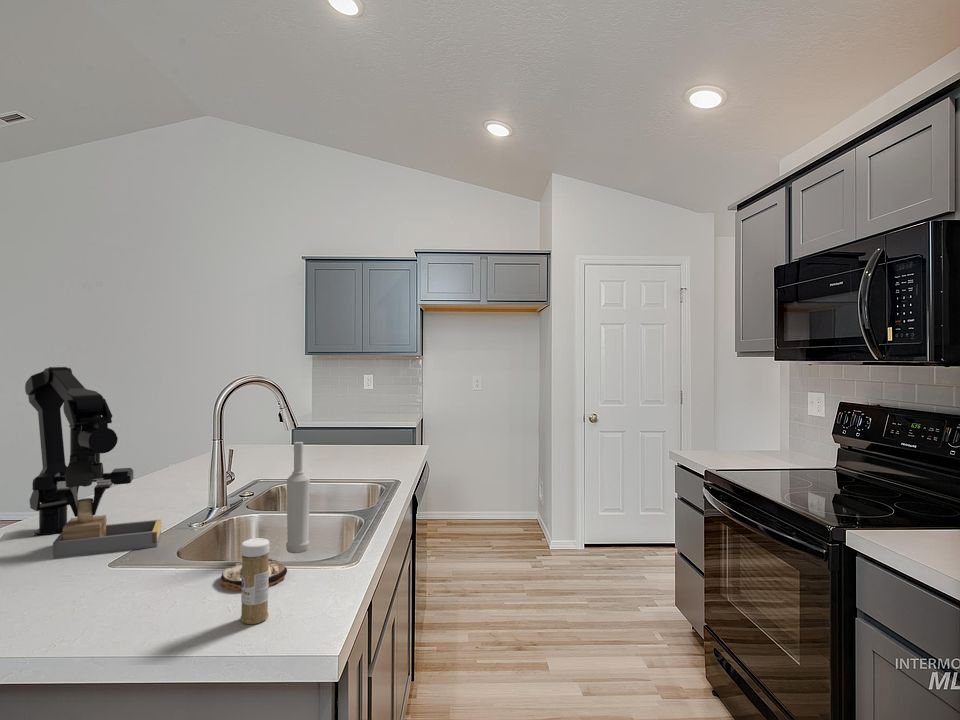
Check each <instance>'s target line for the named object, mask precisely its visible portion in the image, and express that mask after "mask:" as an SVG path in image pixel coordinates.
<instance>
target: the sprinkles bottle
mask: <svg viewBox="0 0 960 720" xmlns="http://www.w3.org/2000/svg"><path fill="white" fill-rule="evenodd" d="M269 553H270V540H269V539H266V538H263V537H257V538H250V539H246V540H244V541H243V542H242V543H241V545H240V554H241V559H242V561H241V562H242V563H241V564H242V590H241V597H240V598H241V601H240V602H241V615H240V622H241V623H243V624H245V625H256V624H258V623H262V622H264V621H266V620H267V619H268V617H269V612H268V608H269V587H268V582H269V569H268V559H269Z"/></svg>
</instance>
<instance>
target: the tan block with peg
mask: <svg viewBox="0 0 960 720" xmlns="http://www.w3.org/2000/svg"><path fill="white" fill-rule="evenodd" d="M93 500H94V497H93V498H91V497H90V498H89V497H87V498H81V499H78V501H77V517H72V518H70V519H69V520H67V524H66V525H65V526H64V527H63V532H61V533H62V535H63V540H72V539H82V538H92V537H101V536H106V525H107V515H106V514H104V515H93V514H92V508H93Z"/></svg>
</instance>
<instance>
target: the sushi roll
mask: <svg viewBox="0 0 960 720" xmlns="http://www.w3.org/2000/svg"><path fill="white" fill-rule="evenodd" d="M268 569H269V582H268V588H270V587H274V586H277V585H278V584H280V583H281V582H283V581H285V577H286V575H287V573H288V568H287V567H286V566H285V564H283V563H282V562H280V561H278V560H276V559H272V558H268ZM220 580H221V584H220V585H221V587H222V588H226V589H230V590H233V591H242V561H239V562H236V563H234V565H232V566H229V567H228V566H227V567H224V570H223V571H222V572H221V576H220Z"/></svg>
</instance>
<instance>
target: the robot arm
mask: <svg viewBox="0 0 960 720" xmlns="http://www.w3.org/2000/svg"><path fill="white" fill-rule="evenodd" d="M24 389H25V391H24V392H25V395H27V396H28V397H27V398H28V403H29V404H30V405H31V406H32V407H33V408H34V410H36V411H37V416H38V417H37V418H38V426H39V428H38V429H39V439H40V450H41V453H40V454H41V463H42V465H41V466H42V469H41V471H40V472H39V474H38V475H37V476H35V477H34V478H33V479H32V493H31V496H30V498H29V506H30V507H29V508H30V509H32V510H34V511H35V512H38V521H39V522H38V529H36V531H34V536H40V535H49V534H61V533H62V532H63V527H64V526H65V525H66V524H67V523H68V506H70V508H71V512H72V513H73V515H74V518H77V501H78V500H79V498H78V497H79V496H78V494H79V488H80V487H89V486H92V484H93V483H96V485H95V486H94V488H93V491H94V494H93V508H92V514H93V516H96V513H97V511H98V508H99V505H100V502H101V500H102V498H103V495H104V493H105V491H106V490H108V489H110V488H111V487H112V486H113V485H115V486H117V485H126V484H127V485H128V484H131V483H132V482H133V479H134V469H133V468H131V467H123V468H114V469H113V470H111V472H104V465H103V462H101V454H107V453H109V452H110V451H112V450H114V448H115V447H116V446H117V444H118V441H119V439H118V436H117V433H116V431H115V430H114V429H111V428H110V427H109V425H108V424H112V422H113V420H112V418H113V414H112V411H111V409H110V407H109V404H108V403H107V400H106V399H105V398H104V396H103V395H102V394H101V393H99V392H98V391H95V390H91V389H87V388H85V386H84V385H83V384H82V383H81V382H80V381H79V380H78V378H77V377H76V376H75V375H74V374H73V371H72V368H71V367H67V366H50V367H47V368H45V369H44V370H43V371H40V372H37V373H35V374H32V375H31V376H30V377H29V378H28V379H27V380H26V382H25V385H24ZM62 406H63V407H62ZM61 408H63V413H64V416H65V417H66V418H65V419H66V420H67V421H68V424H69V425H68V428H69V429H70V431H69V433H70V435H69V436H70V437H69V440H70V441H69V442H70V443H69V446H70V447H69V448H70V449H69V451H70V452H69V453H70V454H69V462H68V465H66V456H65V448H64V447H65V446H64V435H63V423H62V414H61V413H62V412H61Z"/></svg>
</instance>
